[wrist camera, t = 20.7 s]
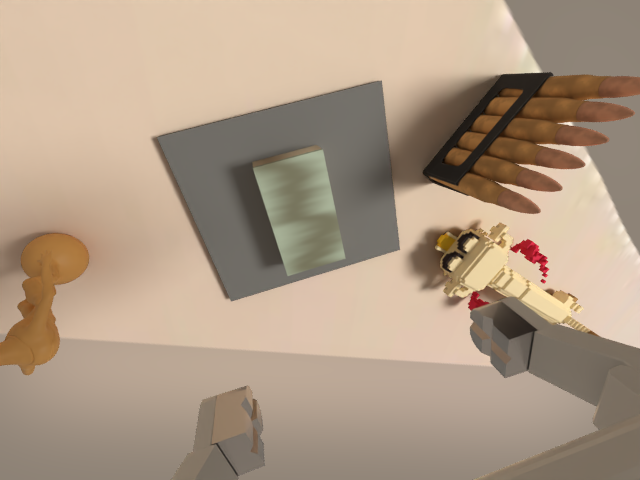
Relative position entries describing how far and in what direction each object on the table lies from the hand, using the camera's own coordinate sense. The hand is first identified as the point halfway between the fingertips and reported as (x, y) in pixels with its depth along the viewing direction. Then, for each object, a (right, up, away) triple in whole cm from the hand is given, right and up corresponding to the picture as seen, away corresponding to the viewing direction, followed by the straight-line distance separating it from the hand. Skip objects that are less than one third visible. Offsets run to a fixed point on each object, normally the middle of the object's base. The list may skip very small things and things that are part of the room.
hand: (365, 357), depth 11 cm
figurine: (-22, +3, +15) cm, 27 cm away
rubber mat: (-4, +8, +17) cm, 19 cm away
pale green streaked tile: (-2, +2, +18) cm, 18 cm away
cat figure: (+21, 0, +27) cm, 34 cm away
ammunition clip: (+12, +14, +18) cm, 26 cm away
